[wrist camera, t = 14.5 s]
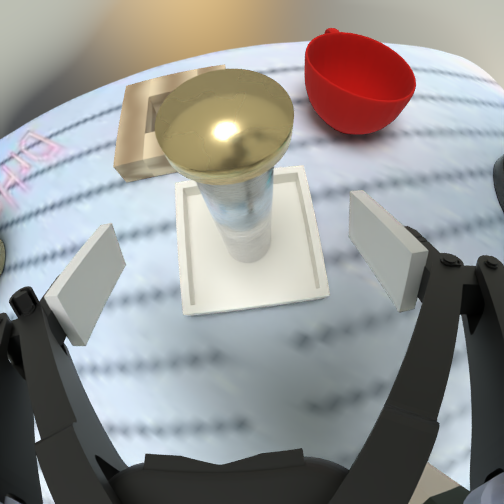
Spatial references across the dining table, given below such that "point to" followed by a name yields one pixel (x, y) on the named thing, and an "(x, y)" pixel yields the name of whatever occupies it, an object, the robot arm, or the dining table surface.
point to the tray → (256, 273)
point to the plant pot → (2, 256)
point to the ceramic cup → (356, 81)
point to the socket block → (146, 126)
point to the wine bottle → (437, 489)
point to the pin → (230, 149)
